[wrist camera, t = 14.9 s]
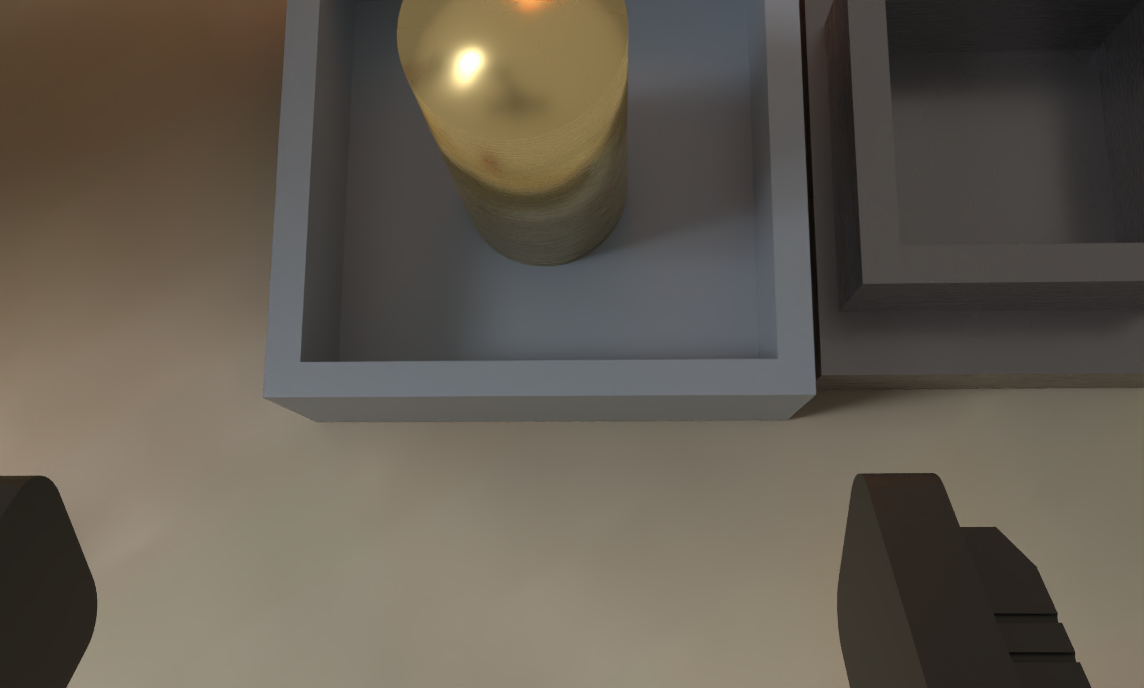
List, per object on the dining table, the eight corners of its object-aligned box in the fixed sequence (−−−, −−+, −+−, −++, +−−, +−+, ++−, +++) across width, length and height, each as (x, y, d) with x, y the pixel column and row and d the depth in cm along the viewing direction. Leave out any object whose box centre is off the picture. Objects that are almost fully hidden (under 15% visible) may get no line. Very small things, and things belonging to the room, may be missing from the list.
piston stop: (463, 267, 26) (393, 140, 18) (465, 113, 27) (400, -73, 19) (628, 265, 26) (629, 134, 18) (626, 109, 27) (626, -80, 19)
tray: (316, 422, 26) (262, 397, 22) (338, -5, 29) (292, -95, 25) (787, 420, 26) (816, 394, 22) (770, -15, 28) (793, -108, 24)
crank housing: (806, 389, 26) (862, 335, 20) (785, -126, 29) (828, -310, 23) (1145, 387, 26) (1307, 333, 19) (1089, -135, 28) (1215, -324, 22)
